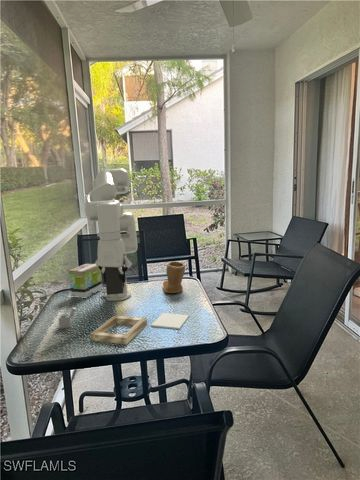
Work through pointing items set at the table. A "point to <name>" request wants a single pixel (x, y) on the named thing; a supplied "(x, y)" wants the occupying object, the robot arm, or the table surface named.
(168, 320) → the cream mat
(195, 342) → the table surface
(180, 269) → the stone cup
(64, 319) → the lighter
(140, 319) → the wooden frame
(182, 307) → the table surface
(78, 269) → the tea box
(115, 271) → the phone stand
